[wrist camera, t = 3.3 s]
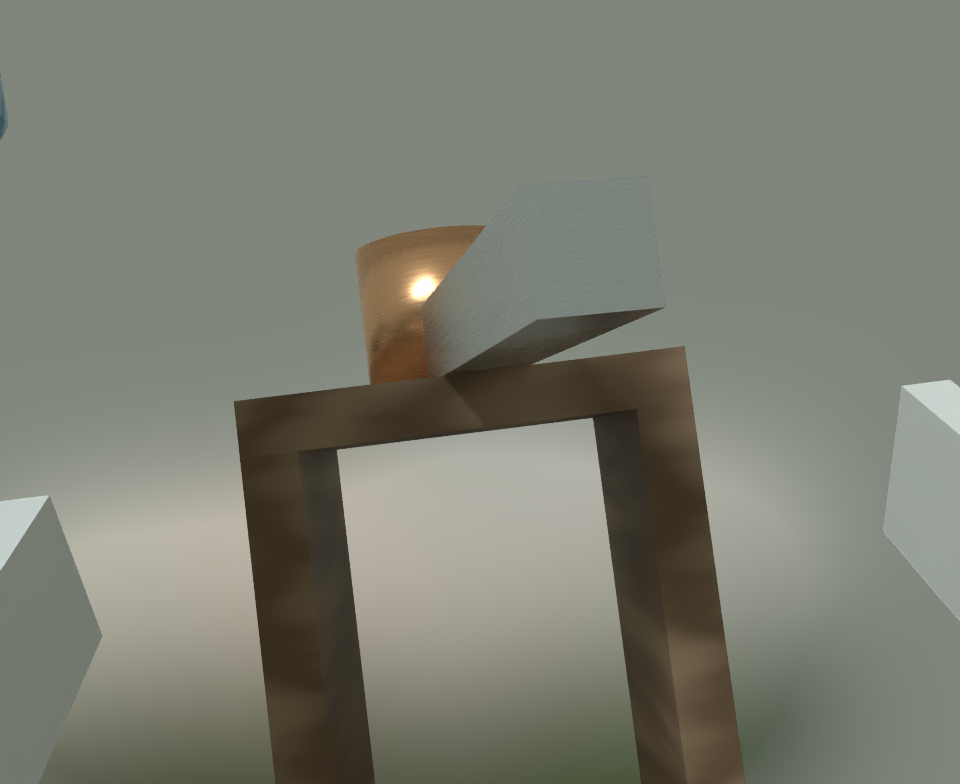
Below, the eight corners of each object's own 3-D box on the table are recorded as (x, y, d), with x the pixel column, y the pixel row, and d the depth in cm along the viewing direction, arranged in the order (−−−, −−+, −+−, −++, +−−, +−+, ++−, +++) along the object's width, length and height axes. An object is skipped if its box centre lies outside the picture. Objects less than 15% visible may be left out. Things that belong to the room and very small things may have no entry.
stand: (331, 1301, 29) (233, 401, 31) (363, 1082, 39) (288, 412, 41) (806, 1227, 30) (684, 346, 31) (718, 1030, 40) (629, 370, 41)
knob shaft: (446, 328, 19) (413, 53, 19) (364, 401, 40) (349, 271, 40) (746, 299, 20) (710, 45, 20) (513, 385, 42) (497, 259, 42)
